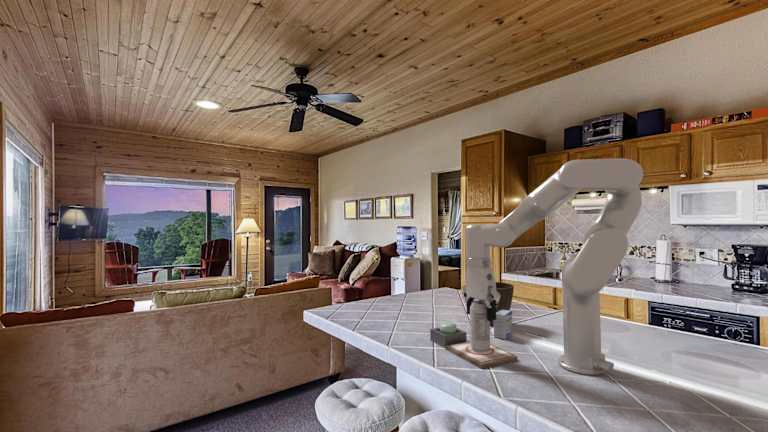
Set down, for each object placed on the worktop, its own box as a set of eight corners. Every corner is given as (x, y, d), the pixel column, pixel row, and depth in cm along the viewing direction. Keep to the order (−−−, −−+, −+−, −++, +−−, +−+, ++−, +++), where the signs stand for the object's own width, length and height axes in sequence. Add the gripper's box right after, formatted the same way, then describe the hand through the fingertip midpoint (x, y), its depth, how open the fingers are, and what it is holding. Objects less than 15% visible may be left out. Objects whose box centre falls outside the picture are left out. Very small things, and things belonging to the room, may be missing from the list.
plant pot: (486, 317, 161) (485, 280, 161) (520, 322, 151) (519, 283, 151) (470, 324, 149) (469, 285, 149) (506, 331, 140) (505, 289, 140)
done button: (459, 334, 128) (459, 325, 128) (445, 336, 125) (445, 328, 125) (450, 330, 133) (449, 321, 133) (436, 332, 130) (436, 323, 130)
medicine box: (505, 339, 131) (505, 315, 131) (493, 337, 133) (493, 313, 133) (512, 333, 137) (512, 310, 137) (501, 331, 140) (500, 309, 140)
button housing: (466, 343, 127) (466, 332, 127) (444, 347, 123) (444, 336, 123) (451, 336, 135) (451, 325, 135) (430, 340, 131) (430, 328, 131)
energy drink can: (486, 346, 120) (485, 300, 120) (492, 352, 114) (491, 304, 114) (468, 346, 119) (467, 300, 120) (473, 353, 113) (472, 304, 114)
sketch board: (517, 360, 111) (517, 355, 111) (481, 368, 106) (481, 363, 106) (478, 342, 128) (478, 338, 128) (445, 349, 122) (445, 344, 122)
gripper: (507, 264, 111) (510, 321, 110) (470, 260, 126) (473, 309, 126) (487, 266, 107) (490, 325, 107) (452, 262, 123) (455, 313, 123)
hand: (481, 316), depth 117 cm, fingers open, 9 cm apart
